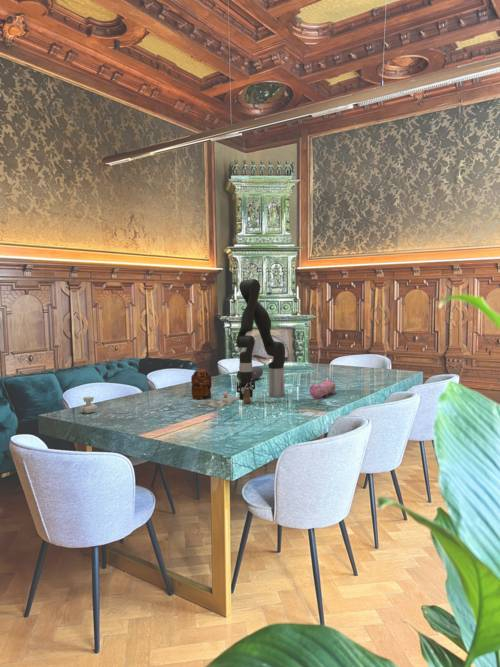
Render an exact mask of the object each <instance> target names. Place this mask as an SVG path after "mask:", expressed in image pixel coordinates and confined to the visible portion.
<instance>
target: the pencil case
mask: <svg viewBox="0 0 500 667" xmlns="http://www.w3.org/2000/svg"><path fill="white" fill-rule="evenodd" d="M335 391H336V383H335V382H334V381H333V379H329V378H328V379H326V380H324V381H323V382H320V383H315V384H312V385H311V386H310V388H309V393H310V396H311V397H312V398H313V399H322V398H323V397H324V396H326V395H330V394H333V393H335ZM329 393H330V394H329Z"/></svg>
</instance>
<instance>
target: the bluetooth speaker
mask: <svg viewBox="0 0 500 667" xmlns="http://www.w3.org/2000/svg"><path fill="white" fill-rule="evenodd" d="M263 374H264V370H263V368H262V367H261V366H258V365H255V366H252V376H253V378H252V379H255V380H256V379H258V378H260V377H262V376H263ZM236 379H237V381H238V382H241V379H240V378H239V370H238V371H237V372H236Z"/></svg>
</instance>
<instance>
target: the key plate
mask: <svg viewBox="0 0 500 667" xmlns="http://www.w3.org/2000/svg"><path fill="white" fill-rule="evenodd" d="M220 399H223V400H229V401H234V402H236V401H238V400H239V401H240V399H239V396H233V395H228V392H227V391H226V392H225V391H224V392H223V397H220Z"/></svg>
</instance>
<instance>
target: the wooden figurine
mask: <svg viewBox="0 0 500 667" xmlns="http://www.w3.org/2000/svg"><path fill="white" fill-rule="evenodd" d="M190 379H191V380H190V381H191V396H192V397H191V398H192V400H196V401H197V400H200V401H201V400H205V399H206V400H207V399H211V398H212V390H211V388H212V384H213V383H212V375H211V373H210V372H208V371H207V370H206V369H205V368H197V369H196V370H195V371H194V372H193V374H192V375H191V377H190Z"/></svg>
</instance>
